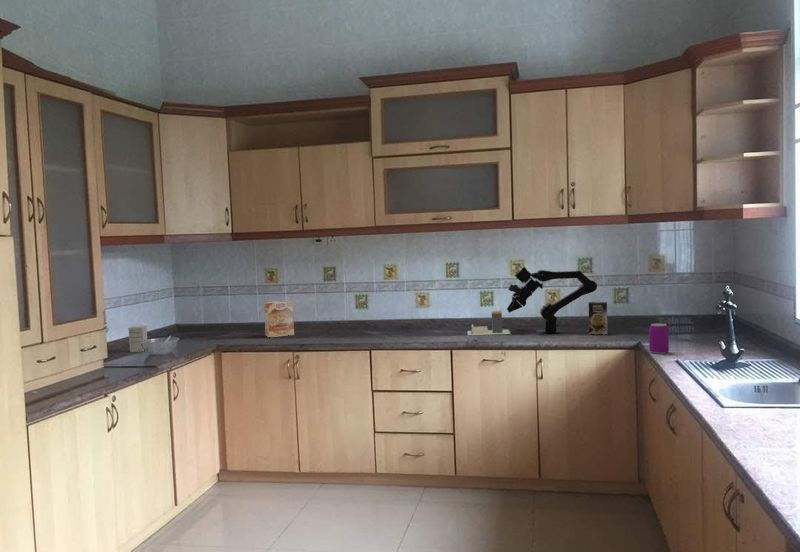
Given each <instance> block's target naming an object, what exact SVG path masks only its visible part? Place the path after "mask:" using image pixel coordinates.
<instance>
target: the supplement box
mask: <svg viewBox="0 0 800 552" xmlns="http://www.w3.org/2000/svg"><path fill="white" fill-rule="evenodd" d="M127 330H128V342H129V343H128V344H129V352H130V353H136V352H139V353H140V352H145V351H144V349H143V348H142V346H141V342H142V341H144V340H147V341H148V331H147V330H148V329H147V325H145V324H144V325H143V324H141V325H132V326H129V327H128V329H127Z"/></svg>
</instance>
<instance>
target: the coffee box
mask: <svg viewBox="0 0 800 552" xmlns="http://www.w3.org/2000/svg"><path fill="white" fill-rule="evenodd" d="M589 334H607V335H608V302H607V301H589V302H588V335H589Z"/></svg>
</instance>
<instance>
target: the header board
mask: <svg viewBox="0 0 800 552" xmlns="http://www.w3.org/2000/svg"><path fill="white" fill-rule="evenodd" d="M509 334H510V335H511V332H510V330H509V329H502V333H493V332H492V329H490V330H489V329H488V326H474V324H471V330H467V335H468V336H477V335H478V336H479V335H480V336H481V335H485V336H486V335H509Z"/></svg>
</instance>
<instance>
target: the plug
mask: <svg viewBox="0 0 800 552" xmlns="http://www.w3.org/2000/svg"><path fill="white" fill-rule="evenodd" d="M491 330H492V332H493V333H502V330H503V313H502V310H491Z"/></svg>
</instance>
